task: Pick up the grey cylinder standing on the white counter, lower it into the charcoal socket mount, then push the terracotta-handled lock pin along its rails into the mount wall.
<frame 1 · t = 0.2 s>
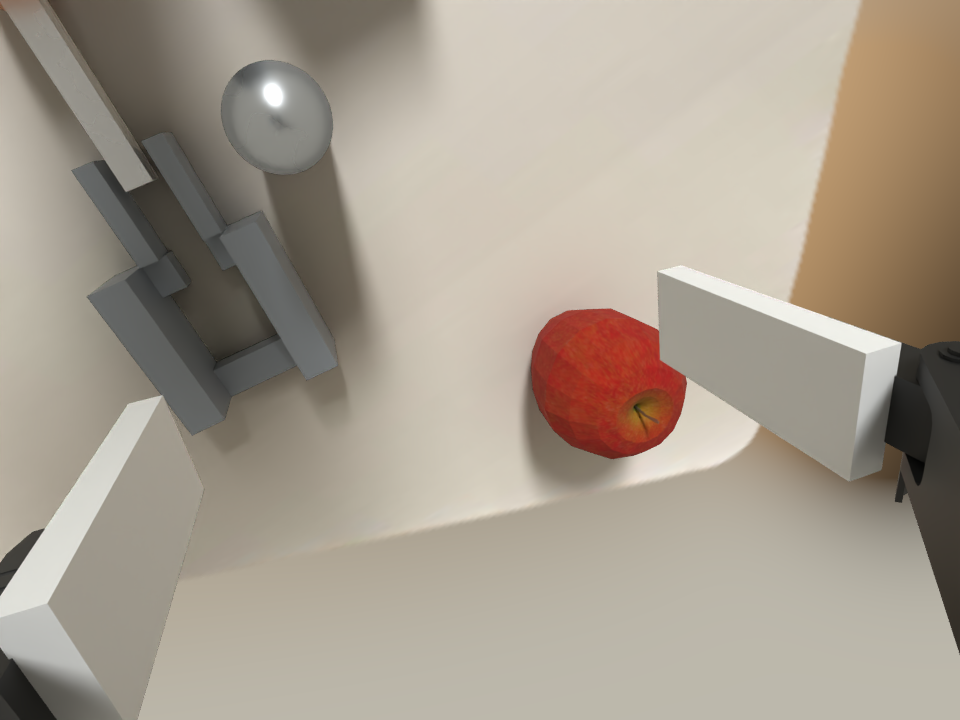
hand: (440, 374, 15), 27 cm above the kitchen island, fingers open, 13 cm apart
lock pin: (56, 64, 29), point 3 cm above the kitchen island, slide at 6.0 cm
mount: (232, 310, 38), on the kitchen island
grey cylinder: (287, 123, 35), on the kitchen island
apple: (563, 346, 47), on the kitchen island
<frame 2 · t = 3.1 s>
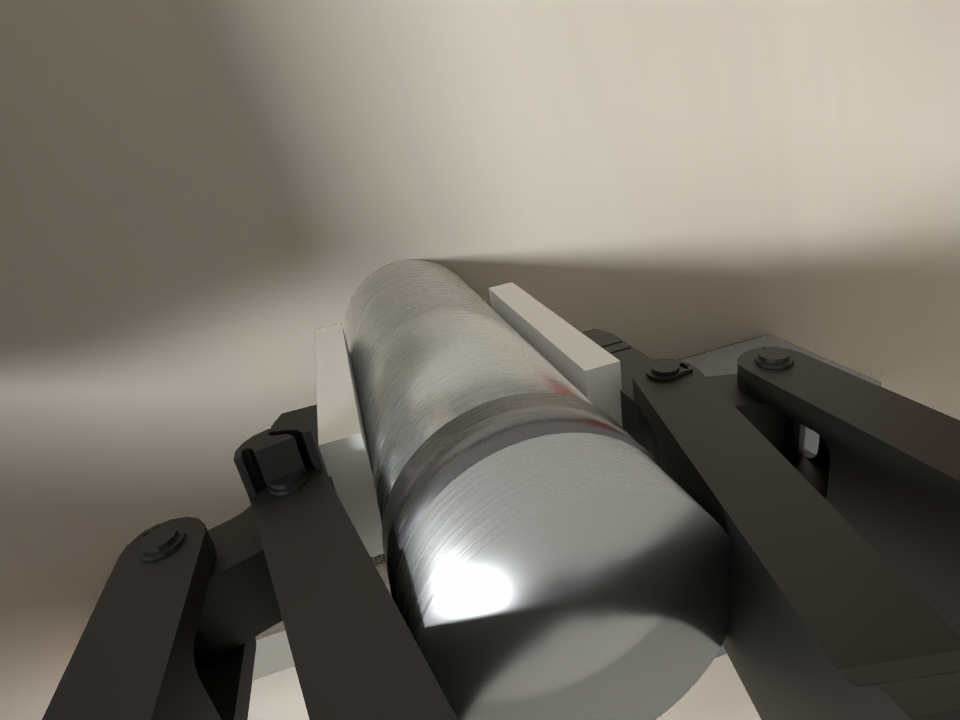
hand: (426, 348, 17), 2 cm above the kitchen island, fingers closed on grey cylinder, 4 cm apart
lock pin: (292, 662, 18), point 3 cm above the kitchen island, slide at 6.0 cm
mount: (663, 470, 24), on the kitchen island
grey cylinder: (413, 325, 19), on the kitchen island, touching gripper
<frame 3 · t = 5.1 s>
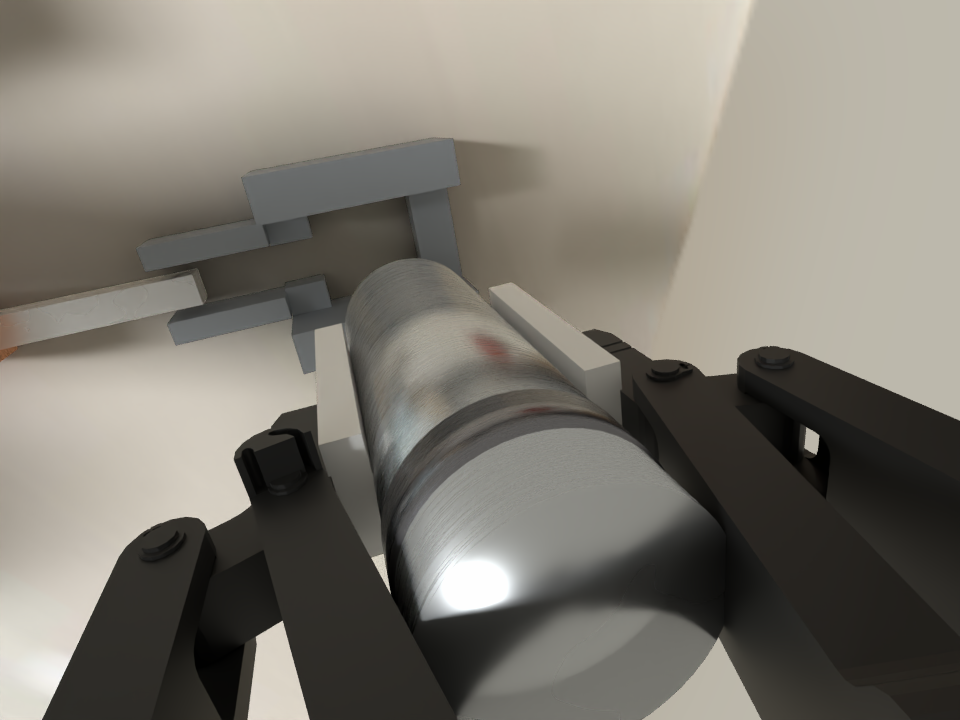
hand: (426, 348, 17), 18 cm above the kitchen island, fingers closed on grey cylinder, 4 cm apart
lock pin: (54, 323, 27), point 3 cm above the kitchen island, slide at 6.0 cm
mount: (366, 243, 33), on the kitchen island
grey cylinder: (413, 324, 19), point 16 cm above the kitchen island, touching gripper
when the fingers open (3 cm above the kitchen island, at t = 7.6 s): grey cylinder drops 1 cm, resting in mount.
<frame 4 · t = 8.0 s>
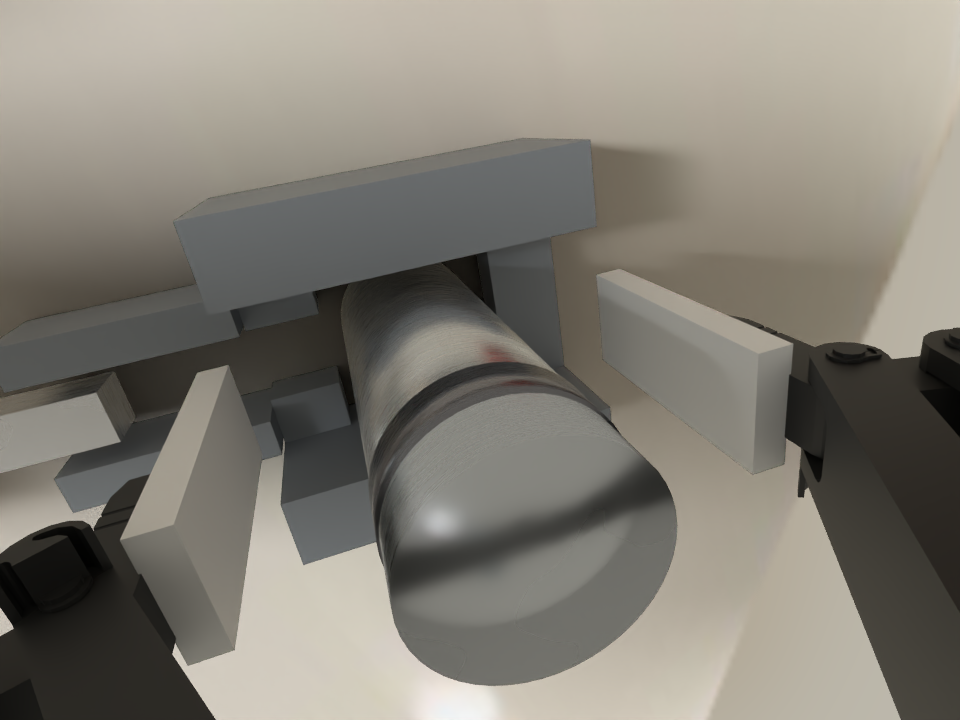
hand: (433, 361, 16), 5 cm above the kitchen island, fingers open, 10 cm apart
mount: (407, 314, 20), on the kitchen island
grey cylinder: (405, 314, 20), resting in mount
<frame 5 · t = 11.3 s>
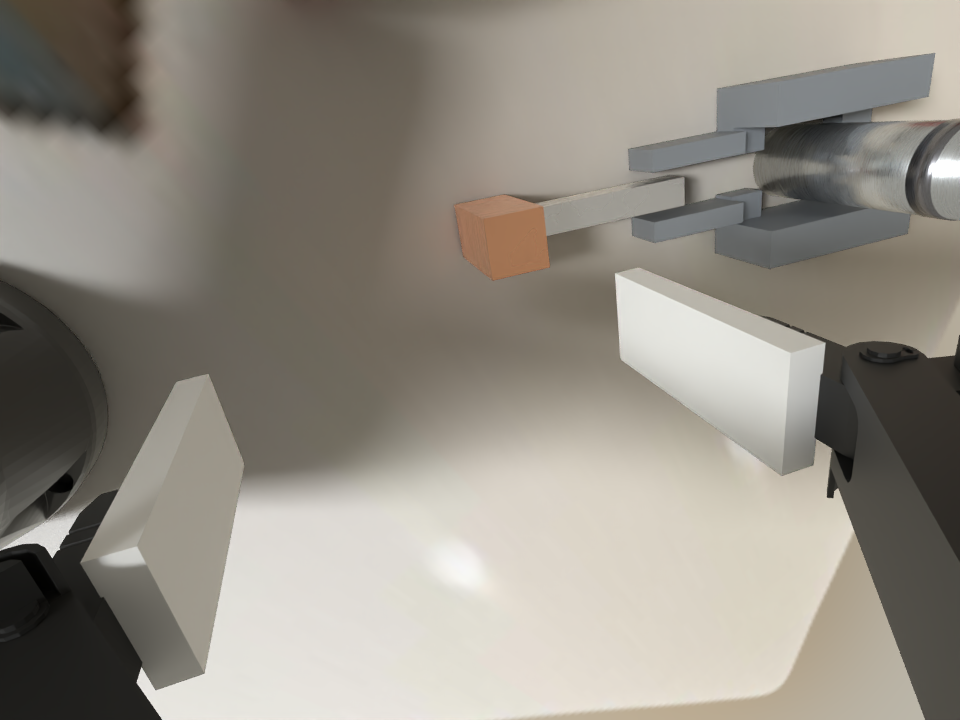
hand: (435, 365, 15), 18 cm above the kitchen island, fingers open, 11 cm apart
lock pin: (585, 215, 31), point 3 cm above the kitchen island, slide at 6.0 cm
mount: (783, 160, 37), on the kitchen island
grey cylinder: (782, 160, 37), resting in mount
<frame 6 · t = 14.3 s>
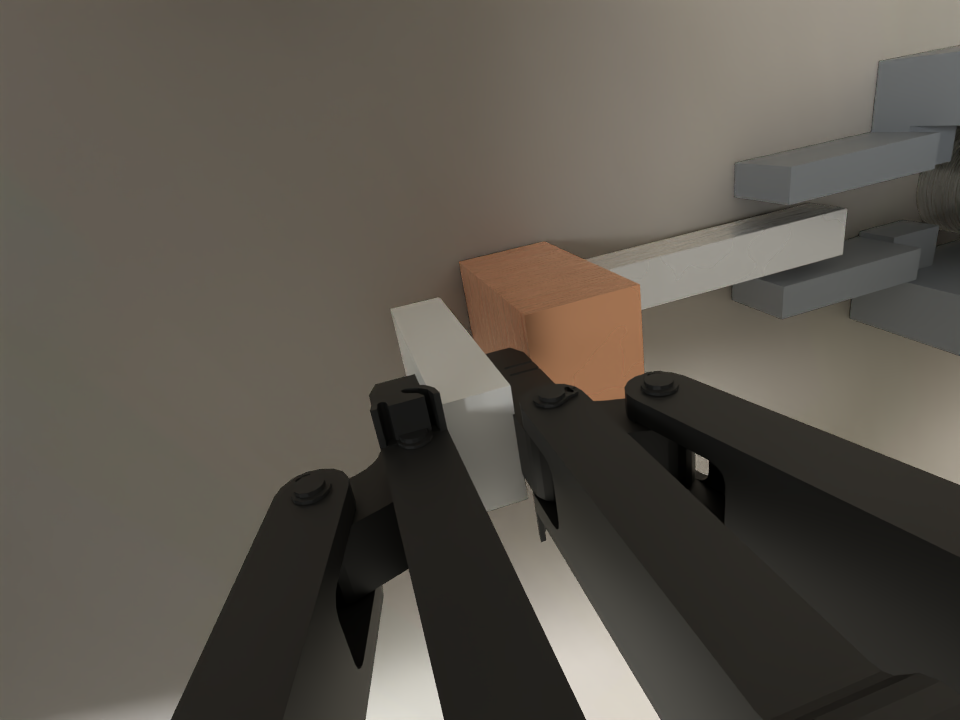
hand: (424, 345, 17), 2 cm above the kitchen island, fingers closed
lock pin: (690, 280, 18), point 3 cm above the kitchen island, slide at 5.6 cm, touching gripper
grey cylinder: (959, 176, 23), resting in mount
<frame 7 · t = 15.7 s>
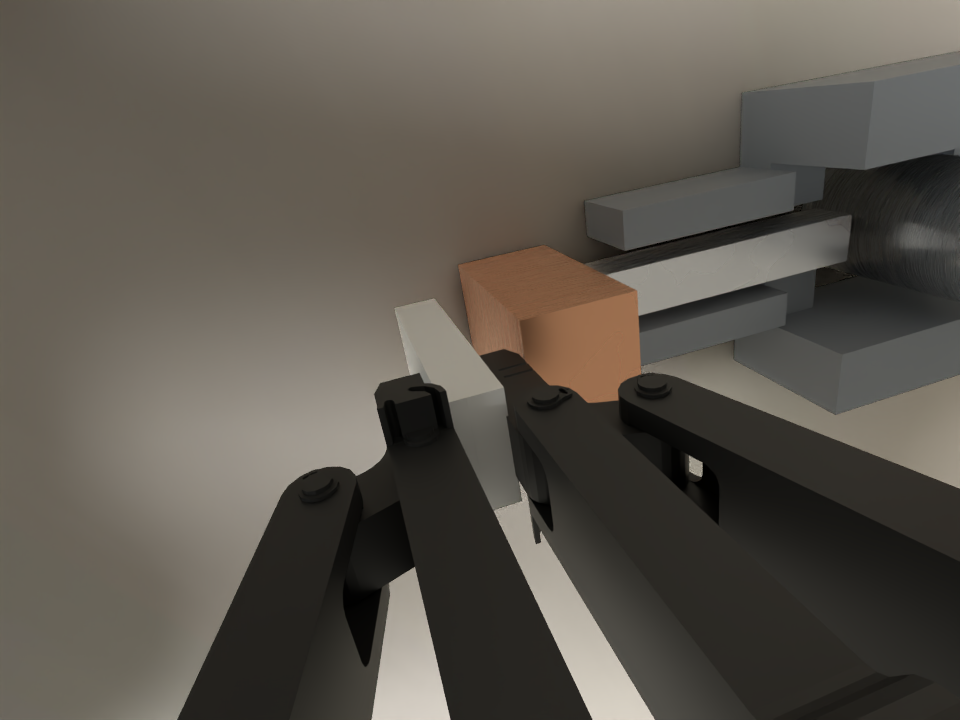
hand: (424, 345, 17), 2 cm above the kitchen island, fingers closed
lock pin: (691, 285, 17), point 3 cm above the kitchen island, slide at -0.4 cm, touching gripper
mount: (849, 211, 22), on the kitchen island
grey cylinder: (847, 211, 22), resting in mount
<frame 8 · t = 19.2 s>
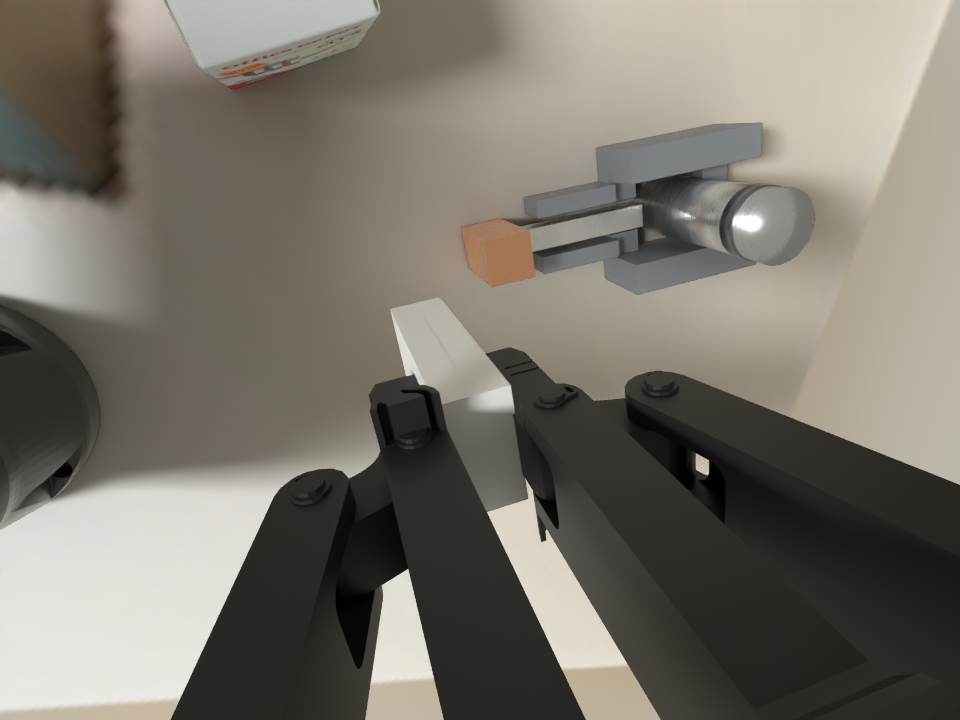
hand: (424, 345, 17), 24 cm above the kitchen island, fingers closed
lock pin: (564, 235, 40), point 3 cm above the kitchen island, slide at 0.0 cm
mount: (658, 203, 44), on the kitchen island
grey cylinder: (657, 203, 44), resting in mount
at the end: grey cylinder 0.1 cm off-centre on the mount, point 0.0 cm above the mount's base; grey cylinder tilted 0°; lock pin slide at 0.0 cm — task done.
